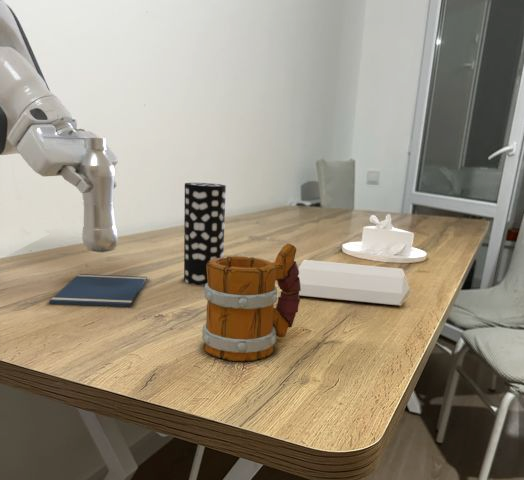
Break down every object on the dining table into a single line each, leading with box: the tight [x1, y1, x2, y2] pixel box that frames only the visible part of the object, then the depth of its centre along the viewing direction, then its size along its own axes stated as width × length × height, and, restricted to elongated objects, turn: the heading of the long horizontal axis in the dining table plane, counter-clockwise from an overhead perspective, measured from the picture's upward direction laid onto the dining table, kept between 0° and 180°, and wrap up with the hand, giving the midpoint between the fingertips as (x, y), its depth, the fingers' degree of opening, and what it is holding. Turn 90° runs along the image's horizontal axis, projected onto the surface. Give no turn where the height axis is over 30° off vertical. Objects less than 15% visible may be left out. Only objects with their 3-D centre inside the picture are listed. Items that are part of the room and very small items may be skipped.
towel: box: [48, 273, 148, 308], centre depth 101 cm, size 14×20×1 cm
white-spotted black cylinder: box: [183, 182, 227, 287], centre depth 109 cm, size 8×8×20 cm
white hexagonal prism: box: [298, 259, 411, 307], centre depth 105 cm, size 7×7×24 cm
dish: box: [341, 213, 428, 264], centre depth 153 cm, size 25×25×11 cm
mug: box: [201, 243, 301, 362], centre depth 75 cm, size 11×16×15 cm, turn 125°
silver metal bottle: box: [78, 137, 119, 254], centre depth 94 cm, size 6×7×20 cm
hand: (100, 189), depth 94 cm, fingers closed on silver metal bottle, 6 cm apart
